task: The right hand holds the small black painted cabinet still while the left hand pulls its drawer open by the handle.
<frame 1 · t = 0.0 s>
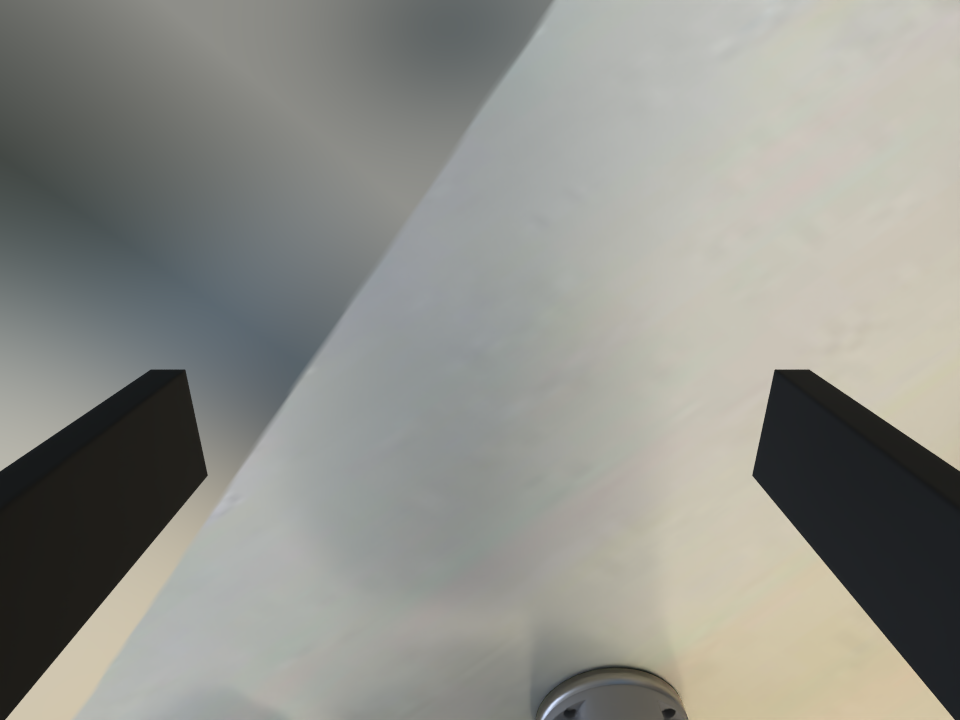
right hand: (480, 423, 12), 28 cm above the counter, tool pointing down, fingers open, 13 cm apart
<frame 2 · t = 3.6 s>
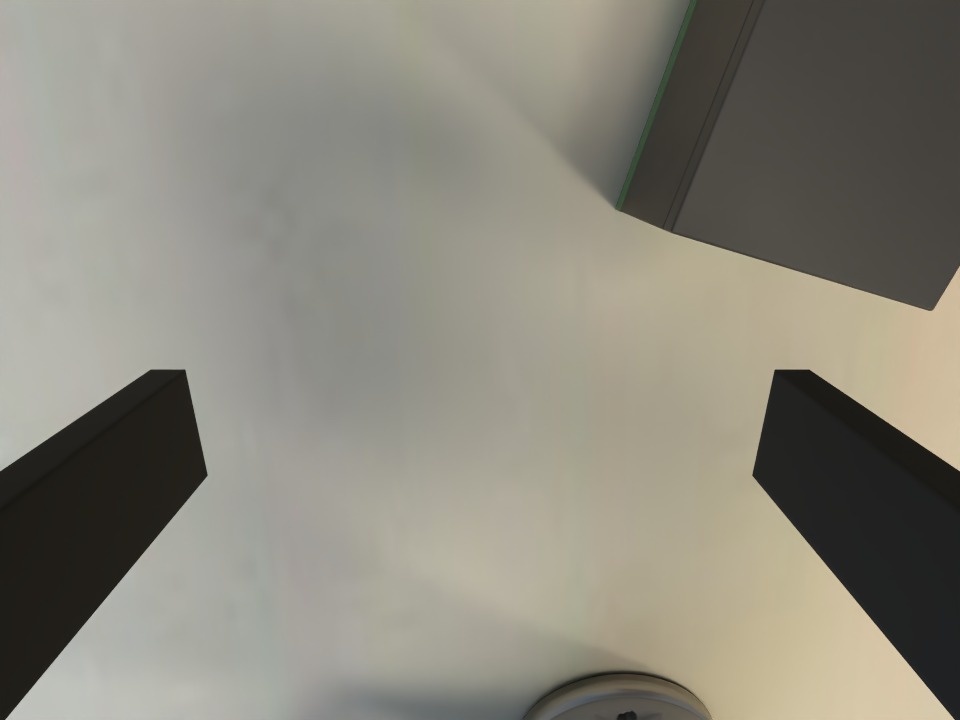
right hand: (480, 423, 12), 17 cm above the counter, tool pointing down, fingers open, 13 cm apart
cabinet: (802, 33, 25), on the counter
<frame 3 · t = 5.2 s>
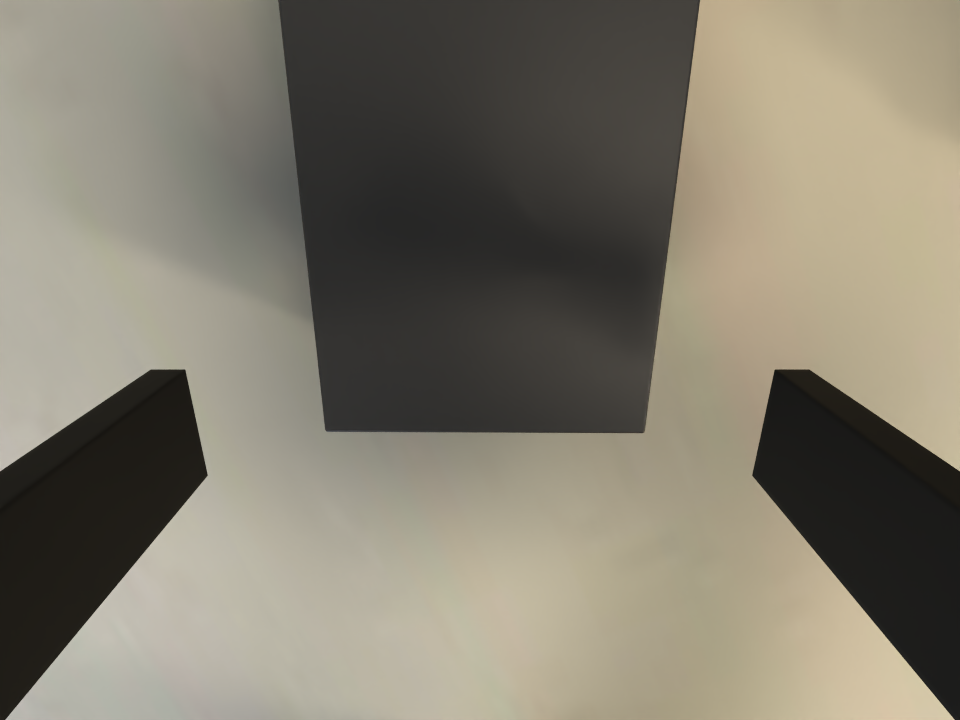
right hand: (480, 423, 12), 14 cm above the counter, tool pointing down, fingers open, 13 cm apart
cabinet: (485, 131, 23), on the counter
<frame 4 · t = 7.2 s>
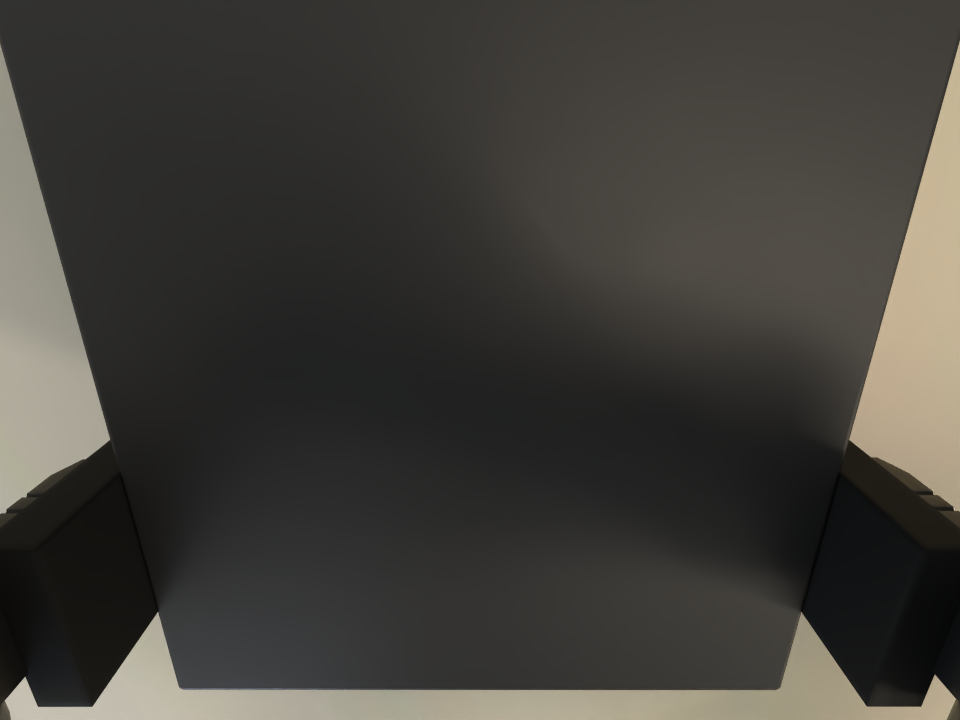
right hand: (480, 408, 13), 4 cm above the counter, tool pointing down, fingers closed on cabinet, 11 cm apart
cabinet: (479, 126, 14), on the counter, touching right hand
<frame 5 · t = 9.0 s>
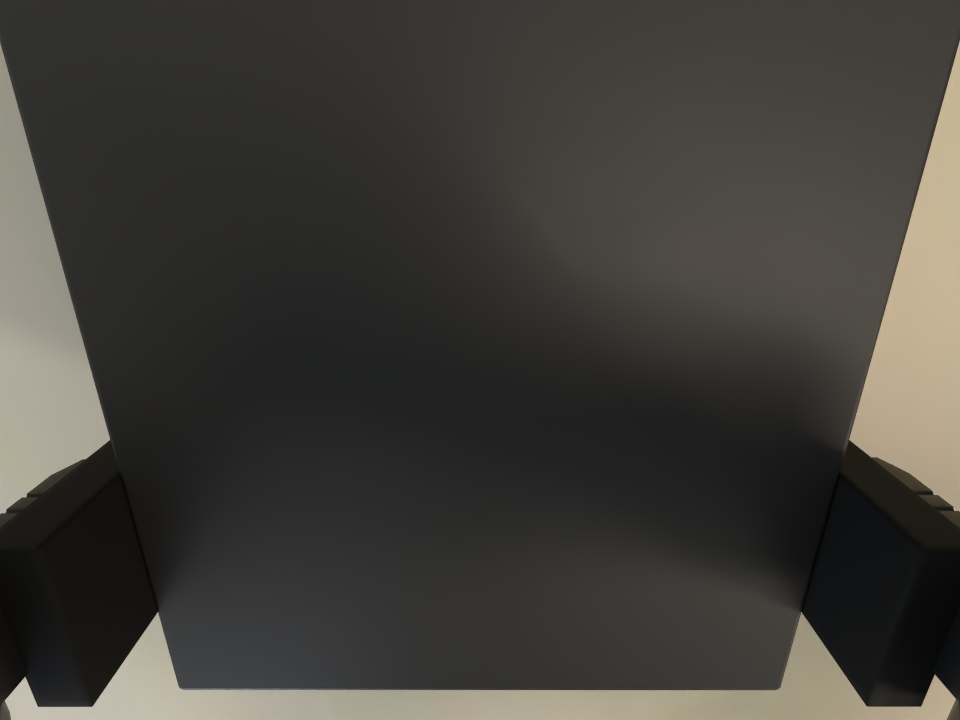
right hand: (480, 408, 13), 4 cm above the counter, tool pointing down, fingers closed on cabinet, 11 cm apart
cabinet: (479, 126, 14), on the counter, touching right hand
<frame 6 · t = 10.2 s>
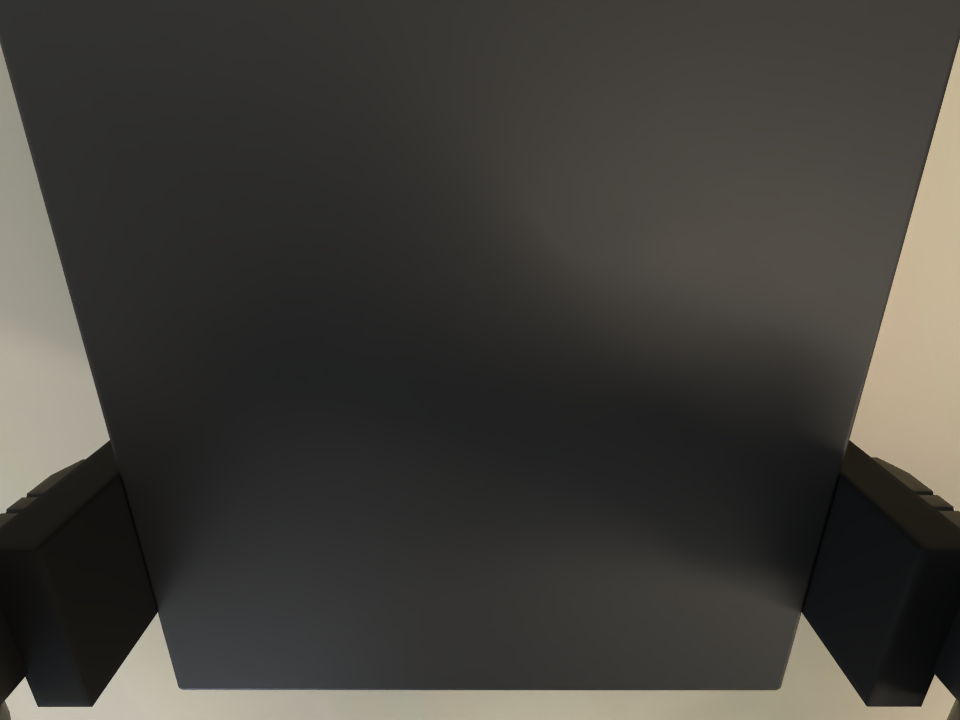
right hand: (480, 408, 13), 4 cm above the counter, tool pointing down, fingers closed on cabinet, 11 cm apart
cabinet: (479, 126, 14), on the counter, touching right hand
when the right hand's fingers open (4 cm above the counter, at t = 12.1 s): cabinet stays where it is, on the counter.
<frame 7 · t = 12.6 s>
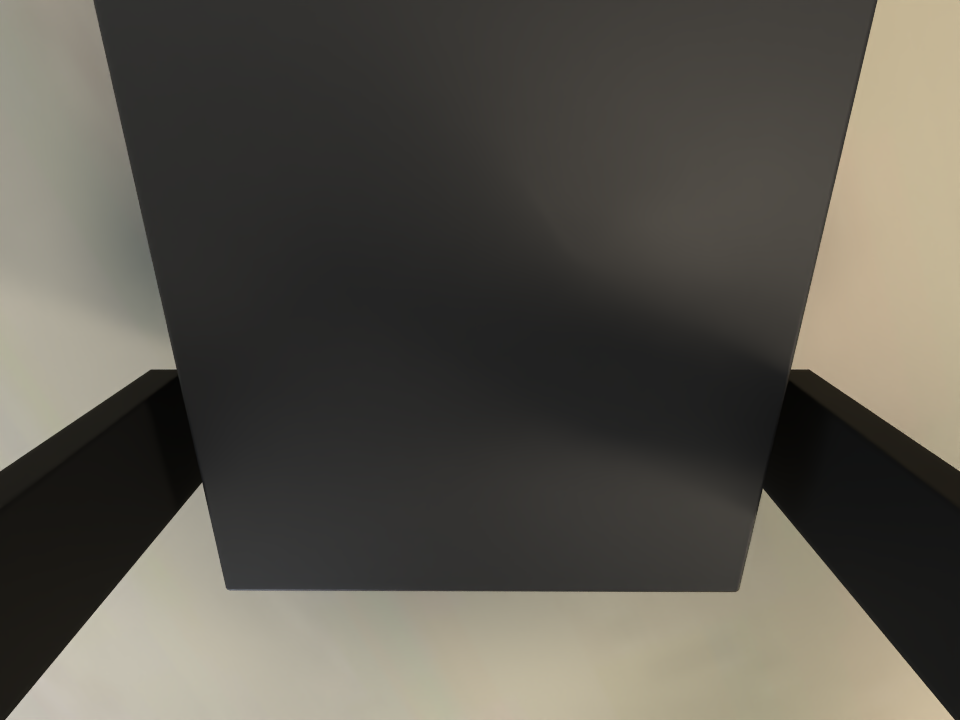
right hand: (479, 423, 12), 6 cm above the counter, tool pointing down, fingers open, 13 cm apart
cabinet: (483, 108, 16), on the counter
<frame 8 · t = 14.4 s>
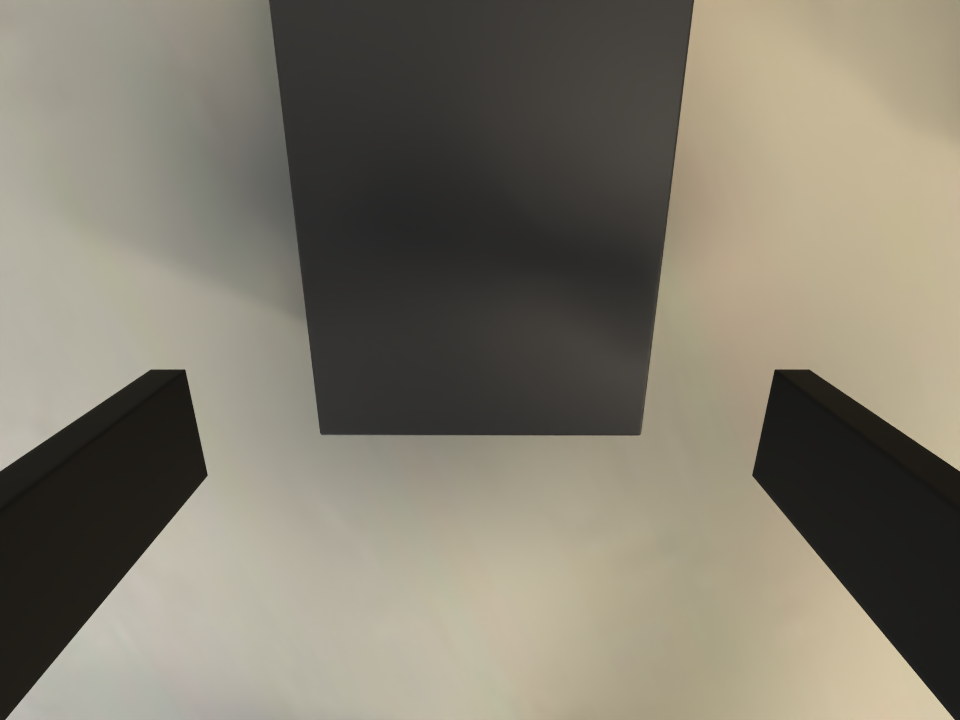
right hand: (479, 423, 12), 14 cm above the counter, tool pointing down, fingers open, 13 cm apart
cabinet: (480, 132, 23), on the counter
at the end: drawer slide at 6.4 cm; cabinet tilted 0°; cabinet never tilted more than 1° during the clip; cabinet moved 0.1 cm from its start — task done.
